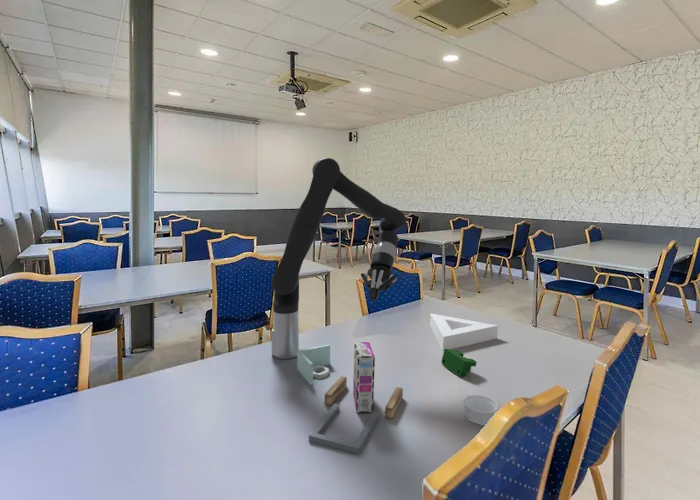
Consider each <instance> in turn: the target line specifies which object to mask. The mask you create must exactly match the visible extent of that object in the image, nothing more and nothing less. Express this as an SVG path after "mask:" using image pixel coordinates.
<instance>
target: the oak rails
mask: <svg viewBox="0 0 700 500" xmlns="http://www.w3.org/2000/svg"><path fill="white" fill-rule="evenodd" d="M346 387H347V376H343V375H340V376H339V377H338V379H337V380H335V382H334V383H333V384H332V386H330V387H329V389H328V390H327V391H326V392H325V393H324V405H328V406H333V405H334V403H335V401H336V400H337V399H338V397H339V396H340V395H341V394H342V392H343V391H344V390H345V389H346ZM403 392H404V390H403V387H398V386H396V387H395V388H394V391H392V394H391V396H390V397H389V400H388V401H387V403H386V405H385V407H384V418H385V419H389V420H393V418H394V416H395V414H396V412H397V410H398V408H399V406H400V403H402V399H403V396H404V395H403V394H404V393H403Z"/></svg>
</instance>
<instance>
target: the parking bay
mask: <svg viewBox="0 0 700 500" xmlns="http://www.w3.org/2000/svg"><path fill="white" fill-rule="evenodd" d="M339 411H340V404H338V403H333V404H332V405H331V407H330V408H329V409H328V411H327V412H326V413H325V414H324V416H323V417H322V418H321V420H320V421H319V422H318V423H317V424H316V426H314V428H313V429H312V431H311V432H310V433H309V434H308V442H312V443H316V444H319V445H323V446H325V447H331V448H334V449H337V450H342V451H345V452H349V453H353V454H356V455H360V453H361V452H362V449H364V446H365V444H366V442H367V440H368V438H369V437H370V435H371V433H372V432H373V429H374V428H375V426H376V424H377V422H378V420H379V417H380V416H379V415H380V414H379V412H375V411H373V412H372V413H371V415H370V418H369V419H368V421H367V423H366V424H365V426H364V428H363V429H362V430H361V432H360V434H359V436H358V438H357V439H356V441H355V442H353V441H349V440H348V441H347V440H344V439H341V438H337V437H332V436H329V435H325V434H322V433H323V432H324V430H325V429H326V428H327V427H328V425H329V424H330V423H331V421H332V420H333V418H334V417H335V416H336V415H337V413H338V412H339Z"/></svg>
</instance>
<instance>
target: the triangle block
mask: <svg viewBox="0 0 700 500" xmlns="http://www.w3.org/2000/svg"><path fill="white" fill-rule="evenodd" d="M429 315H430V317H429V320H430V321H429V326H430V325H431V326H430V328H431V327H432V328H431V330H432V329H433V330H432V332H433V335H434V336H435V338H436V340H437V342H438V344H439V346H440V348H441V350H442V352H444V349H451V350H455V349H457V348H462V347H467V346H470V345H471V346H472V345H475V344H479V343H483V342H488V341H491V340H492V339H493V340H496V338H497V339H498V333H499V332H498V331H499V325H497V324H492V323H491V324H490V323H487V322H486V323H485V322H481V321H480V322H479V321H476V320H475V321H473V320H469V319H463V318H458V317H452V316H448V315H441V314H436V313H435V314H434V313H430V314H429Z"/></svg>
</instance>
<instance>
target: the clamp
mask: <svg viewBox="0 0 700 500" xmlns="http://www.w3.org/2000/svg"><path fill="white" fill-rule="evenodd" d="M477 363H478V362H477V361H476V360H475V359H473V358H467V357H465V353H464V352H461V351H459V350H457V349H444V351H443V354H442V358H441V365H442V366H444V367H445V368H447V369H448V370H449V371H451V372H452V373H454V375H456V376H457V377H458V376H459V377H465V376H467V373H470V372H471V369H472V367H476V366H477Z"/></svg>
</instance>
